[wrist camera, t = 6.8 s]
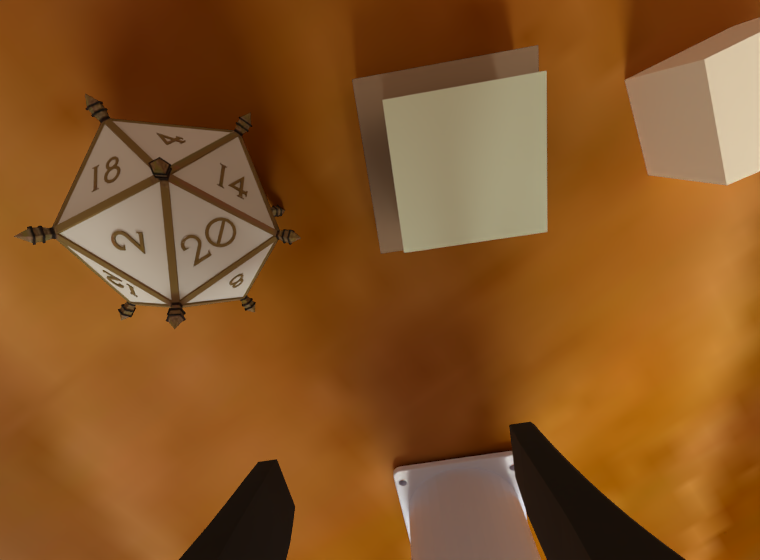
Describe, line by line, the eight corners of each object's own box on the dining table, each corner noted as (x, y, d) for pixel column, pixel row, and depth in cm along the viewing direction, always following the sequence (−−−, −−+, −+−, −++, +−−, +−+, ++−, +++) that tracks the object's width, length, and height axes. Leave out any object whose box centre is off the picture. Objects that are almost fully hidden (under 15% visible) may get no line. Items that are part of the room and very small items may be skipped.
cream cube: (747, 129, 17) (864, 126, 13) (647, 174, 18) (727, 185, 14) (731, 26, 16) (856, -16, 12) (623, 80, 17) (704, 59, 12)
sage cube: (505, 207, 16) (547, 231, 12) (399, 223, 16) (404, 253, 12) (500, 90, 14) (546, 70, 10) (383, 111, 15) (382, 100, 11)
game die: (252, 159, 22) (260, 12, 12) (308, 297, 21) (358, 252, 12) (68, 199, 18) (-113, 37, 9) (130, 364, 18) (7, 373, 9)
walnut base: (518, 216, 19) (541, 229, 16) (381, 237, 20) (380, 253, 17) (512, 61, 17) (538, 45, 14) (357, 89, 17) (352, 79, 14)
